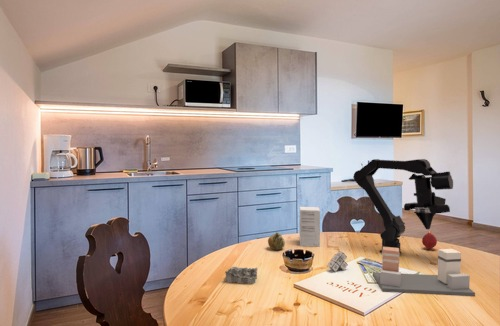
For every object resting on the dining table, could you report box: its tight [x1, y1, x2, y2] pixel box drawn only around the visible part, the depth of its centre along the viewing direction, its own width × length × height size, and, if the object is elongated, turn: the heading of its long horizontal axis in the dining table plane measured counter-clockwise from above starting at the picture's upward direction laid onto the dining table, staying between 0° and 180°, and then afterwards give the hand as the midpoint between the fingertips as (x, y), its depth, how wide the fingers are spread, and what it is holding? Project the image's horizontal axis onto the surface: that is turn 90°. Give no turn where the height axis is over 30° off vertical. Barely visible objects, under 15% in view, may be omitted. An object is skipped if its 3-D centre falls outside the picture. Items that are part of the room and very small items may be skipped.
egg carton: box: [224, 266, 258, 285], centre depth 118 cm, size 11×8×4 cm
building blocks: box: [326, 250, 348, 273], centre depth 129 cm, size 5×5×8 cm
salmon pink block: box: [381, 247, 400, 272], centre depth 115 cm, size 4×5×10 cm
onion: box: [421, 231, 438, 250], centre depth 153 cm, size 6×6×8 cm
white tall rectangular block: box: [437, 248, 462, 284], centre depth 113 cm, size 4×5×10 cm
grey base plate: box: [372, 269, 476, 297], centre depth 113 cm, size 14×27×5 cm, turn 83°
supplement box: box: [299, 206, 321, 248], centre depth 162 cm, size 10×9×17 cm
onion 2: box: [267, 232, 286, 251], centre depth 154 cm, size 8×8×8 cm
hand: (427, 229), depth 138 cm, fingers closed
